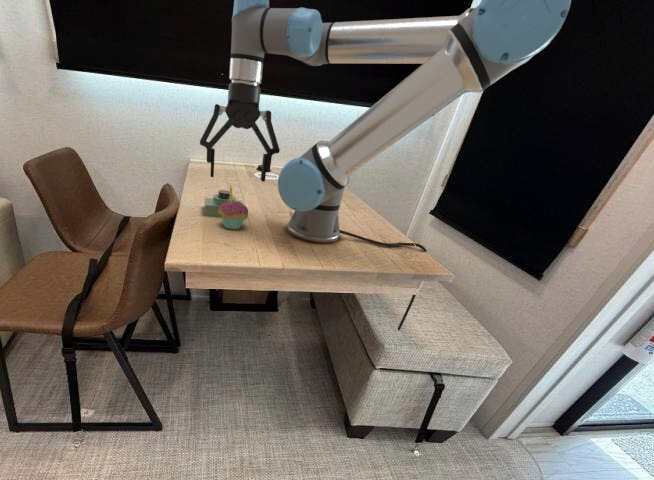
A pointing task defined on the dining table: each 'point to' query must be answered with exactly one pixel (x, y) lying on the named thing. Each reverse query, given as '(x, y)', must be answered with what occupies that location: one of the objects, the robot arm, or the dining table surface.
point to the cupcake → (232, 213)
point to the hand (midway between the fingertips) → (237, 178)
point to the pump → (224, 194)
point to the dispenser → (215, 205)
